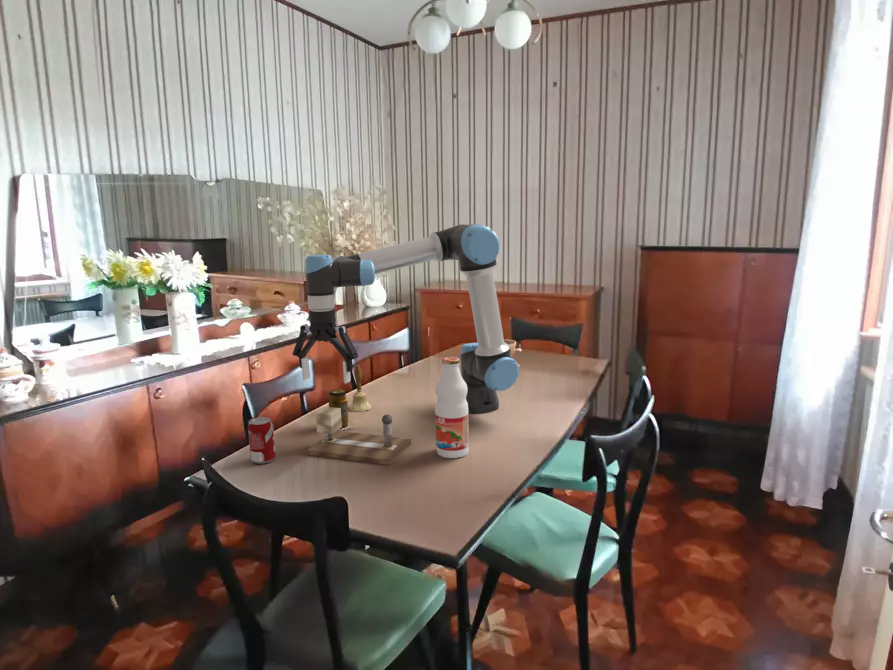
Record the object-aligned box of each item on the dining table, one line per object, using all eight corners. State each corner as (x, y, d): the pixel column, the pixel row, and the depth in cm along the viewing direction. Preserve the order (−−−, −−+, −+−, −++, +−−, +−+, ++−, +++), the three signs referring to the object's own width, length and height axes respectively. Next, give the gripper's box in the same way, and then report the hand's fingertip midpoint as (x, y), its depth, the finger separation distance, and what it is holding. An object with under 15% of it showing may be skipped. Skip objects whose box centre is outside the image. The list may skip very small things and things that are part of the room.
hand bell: (367, 412, 206) (365, 368, 203) (345, 411, 208) (342, 367, 204) (375, 405, 214) (373, 362, 211) (353, 404, 216) (351, 361, 212)
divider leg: (342, 435, 179) (340, 408, 177) (332, 443, 173) (330, 414, 171) (327, 434, 180) (326, 406, 178) (317, 441, 175) (315, 413, 173)
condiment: (346, 421, 198) (344, 387, 195) (354, 429, 190) (352, 393, 188) (325, 424, 195) (323, 390, 192) (332, 433, 187) (329, 397, 185)
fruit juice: (475, 452, 170) (474, 358, 164) (452, 462, 164) (450, 364, 158) (453, 443, 177) (451, 352, 171) (429, 452, 170) (427, 358, 165)
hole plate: (411, 443, 177) (410, 407, 175) (389, 465, 163) (388, 425, 160) (334, 435, 185) (332, 400, 183) (307, 454, 171) (304, 416, 168)
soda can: (262, 467, 163) (258, 426, 160) (245, 462, 166) (242, 421, 164) (280, 458, 168) (277, 418, 166) (264, 453, 172) (261, 414, 169)
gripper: (367, 308, 168) (370, 379, 173) (291, 305, 176) (296, 374, 180) (355, 312, 161) (359, 387, 166) (276, 310, 169) (282, 381, 173)
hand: (326, 380), depth 173 cm, fingers open, 13 cm apart
